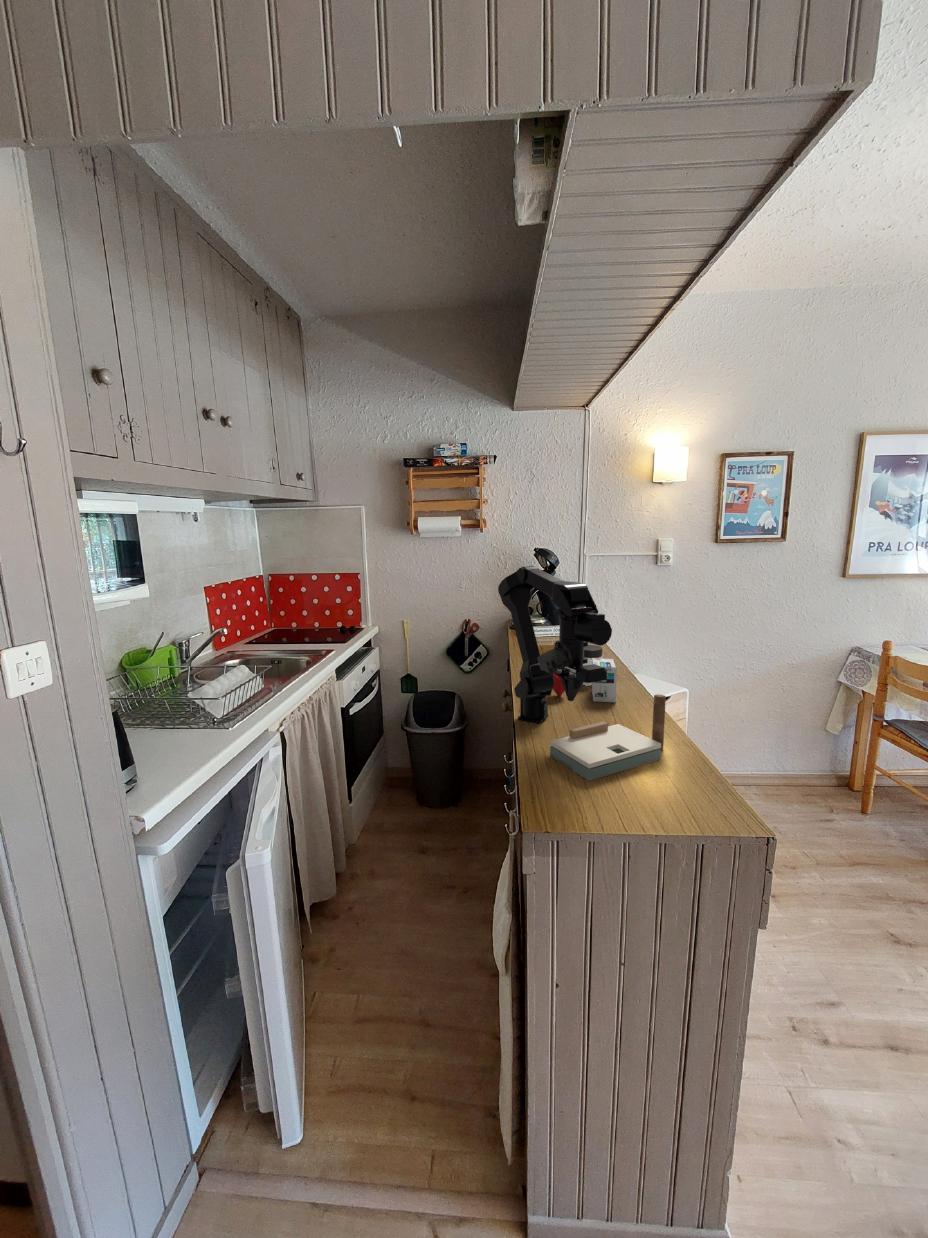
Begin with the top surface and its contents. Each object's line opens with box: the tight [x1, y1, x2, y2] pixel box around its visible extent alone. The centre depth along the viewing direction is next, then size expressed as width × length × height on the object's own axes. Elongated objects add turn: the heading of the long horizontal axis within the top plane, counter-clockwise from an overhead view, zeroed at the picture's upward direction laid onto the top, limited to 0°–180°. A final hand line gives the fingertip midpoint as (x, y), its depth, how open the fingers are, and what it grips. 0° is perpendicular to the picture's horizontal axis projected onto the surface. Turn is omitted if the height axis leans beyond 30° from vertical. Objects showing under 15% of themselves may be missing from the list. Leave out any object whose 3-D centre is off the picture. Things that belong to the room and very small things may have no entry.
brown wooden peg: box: [651, 693, 667, 751], centre depth 114 cm, size 2×2×12 cm
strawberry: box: [552, 673, 565, 697], centre depth 152 cm, size 6×8×10 cm
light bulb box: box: [591, 658, 618, 703], centre depth 151 cm, size 11×7×11 cm, turn 169°
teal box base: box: [549, 745, 662, 782], centre depth 111 cm, size 13×20×2 cm, turn 117°
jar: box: [582, 644, 604, 687], centre depth 165 cm, size 9×8×12 cm
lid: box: [549, 721, 661, 768], centre depth 110 cm, size 13×20×3 cm, turn 116°
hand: (570, 700), depth 120 cm, fingers closed
